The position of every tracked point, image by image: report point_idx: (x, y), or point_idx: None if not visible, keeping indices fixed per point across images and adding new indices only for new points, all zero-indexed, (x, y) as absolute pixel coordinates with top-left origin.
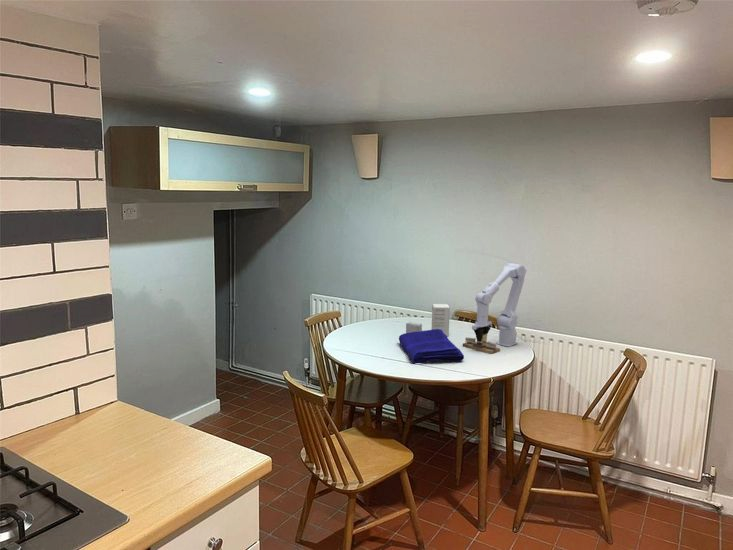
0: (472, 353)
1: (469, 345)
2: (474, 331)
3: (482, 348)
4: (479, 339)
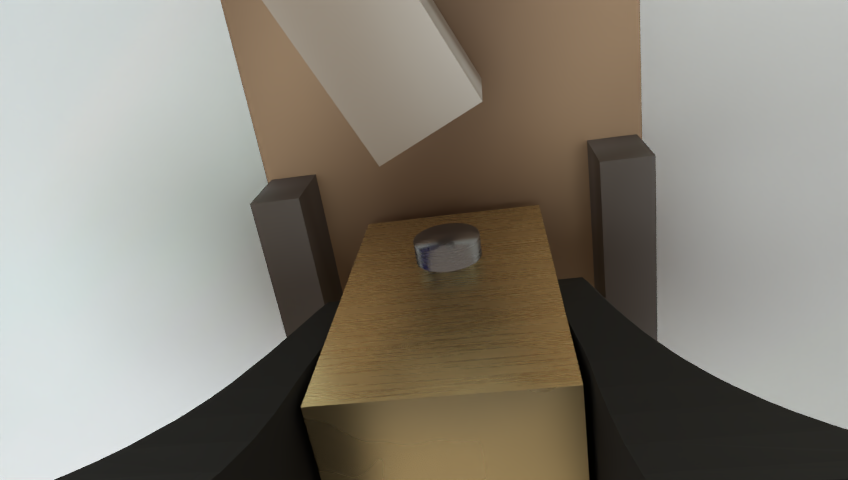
0: (117, 342)
1: (246, 94)
2: (90, 476)
3: None
4: None
